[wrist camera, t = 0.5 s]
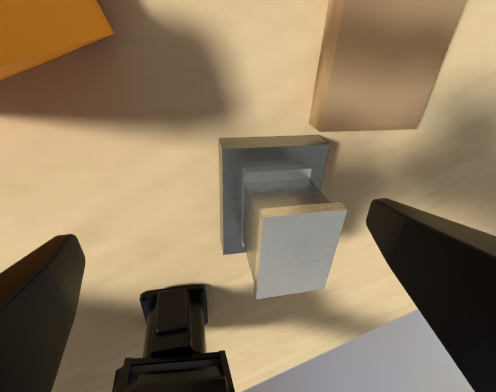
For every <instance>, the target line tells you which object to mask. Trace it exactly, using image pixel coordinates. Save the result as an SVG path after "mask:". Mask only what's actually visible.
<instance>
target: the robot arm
mask: <svg viewBox="0 0 496 392" xmlns="http://www.w3.org/2000/svg"><path fill="white" fill-rule="evenodd" d="M366 224H367V227H368V229H369V231H370V233H371V235H372V236H373V238H374V240H375V242H376V244H377V246H378V247H379V249H380V251H381V253H382V255H383V257H384V258H385V260H386V262H387V263H388V265H389V267H390V268H391V270H392V271H393V273H394V274H395V276H396V277H397V279H398V280H399V282H400V283H401V284H402V286H403V287H404V289H405V290H406V292H407V293H408V295H409V296H410V298H411V299H412V300H413V302H414V303H415V305H416V306H417V308H418V309H419V311H420V312H421V314H422V315H423V317H424V318H425V319H426V321H427V322H428V324H429V325H430V327H431V328H432V330H433V331H434V333H435V334H436V336H437V337H438V338H439V340H440V341H441V343H442V344H443V345H444V347H445V349H446V350H447V352H448V353H449V354H450V356H451V357H452V359H453V360H454V362H455V363H456V365H457V366H458V368H459V369H460V371H461V372H462V374H463V375H464V376H465V378H466V379H467V381H468V382H469V384H470V385H471V386H472V388H473V390H474V391H475V392H496V236H493V235H490V234H487V233H485V232H482V231H479V230H476V229H473V228H470V227H467V226H465V225H462V224H459V223H456V222H453V221H450V220H447V219H444V218H442V217H439V216H436V215H433V214H430V213H427V212H424V211H421V210H419V209H416V208H413V207H410V206H407V205H404V204H401V203H399V202H396V201H393V200H390V199H387V198H381V199H375V200H373V201H372V202H371V205H370V208H369V212H368V215H367V218H366ZM84 268H85V256H84V253H83V251H82V249H81V246H80V244H79V241H78V239H77V237H76V236H75V235H73V234H66V235H58V236H55V237H54V238H52V239H51V240H49V241H48V242H46V243H45V244H43V245H42V246H40V247H39V248H37V249H36V250H34V251H33V252H31V253H30V254H28V255H27V256H25V257H24V258H22V259H21V260H19V261H18V262H16V263H15V264H13V265H12V266H10V267H9V268H7V269H6V270H5V271H3V272H2V273H0V392H51V390H52V387H53V384H54V381H55V378H56V375H57V372H58V368H59V365H60V362H61V359H62V356H63V353H64V350H65V347H66V343H67V340H68V337H69V334H70V331H71V328H72V325H73V321H74V318H75V314H76V309H77V305H78V299H79V294H80V289H81V284H82V279H83V274H84ZM140 302H141V306H142V309H143V313H144V317H145V320H146V324H147V326H146V334H145V343H144V351H143V358H134V359H132V358H125V361H124V366H122V368H120V369H118V370H116V374H115V379H114V384H113V389H112V392H235V390H234V386H233V382H232V378H231V374H230V370H229V366H228V361H227V357H226V353H225V350H222V351H219V352H211V353H206V342H205V327H204V325H205V324H207V323H208V317H207V303H206V289H205V286H204V285H196V286H188V287H181V288H174V289H166V290H159V291H152V292H145V293H142V294H141V295H140Z"/></svg>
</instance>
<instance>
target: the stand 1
mask: <svg viewBox="0 0 496 392" xmlns="http://www.w3.org/2000/svg"><path fill="white" fill-rule="evenodd" d="M329 146H330V144H329V143H328V142H326V141H325V140H324V139H323V138H322V137H320V136H319V135H307V136H277V137H248V138H219V174H220V224H221V244H222V249H223V255H226V254H235V253H243V252H246V250H245V247H242V244H241V211H242V181H243V168H244V167H262V166H280V165H297V164H308V165H309V166H310V167H311V168H312V170H311V176H310V179H311V180H312V181H313V183H314V184H315V185H316V186H317V187H318V189H319V190H320V188H321V183H322V179H323V174H324V169H325V165H326V160H327V156H328V151H329Z"/></svg>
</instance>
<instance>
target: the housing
mask: <svg viewBox="0 0 496 392" xmlns="http://www.w3.org/2000/svg"><path fill="white" fill-rule="evenodd" d="M311 170H312V168H311V167H310V166H309V165H308V164H297V165H280V166H262V167H244V168H243V181H242V211H241V244H242V247H245V250H246V254H247V258H248V261H249V265H250V269H251V272H252V276H253V280H254V293H255V297H256V299H262V298H269V297H276V296H282V295H289V294H295V293H302V292H308V291H315V290H321V289H324V288H325V284H326V281H327V278H328V274H329V271H330V267H331V264H332V261H333V257H334V254H335V251H336V247H337V244H338V240H339V237H340V234H341V230H342V227H343V224H344V220H345V217H346V213H347V210H348V209H347V208H346V207H345V206H344V205H343V204H342V202H333V203H330V202H329V201H328V200H327V199H326V197H325V196H324V195H323V194H322V192H321V191H320V190H319V189H318V187H317V186H316V185H315V184H314V183H313V181H312V180H311V179H310V176H311Z"/></svg>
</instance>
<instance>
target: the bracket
mask: <svg viewBox="0 0 496 392" xmlns="http://www.w3.org/2000/svg"><path fill="white" fill-rule="evenodd" d="M113 34H114V32H113V30H112V28H111V26H110V24H109V22H108V21H107V19H106V17H105V15H104V13H103V11H102V9H101V7H100V6H99V4H98V2H97V0H0V80H3V79H5V78H7V77H10V76H12V75H15V74H17V73H20V72H22V71H25V70H27V69H30V68H32V67H35V66H37V65H40V64H42V63H45V62H47V61H50V60H52V59H55V58H57V57H60V56H62V55H65V54H67V53H70V52H72V51H75V50H76V49H78V48H81V47H83V46H86V45H88V44H90V43H93V42H95V41H98V40H100V39H103V38H105V37H108V36H110V35H113Z"/></svg>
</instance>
